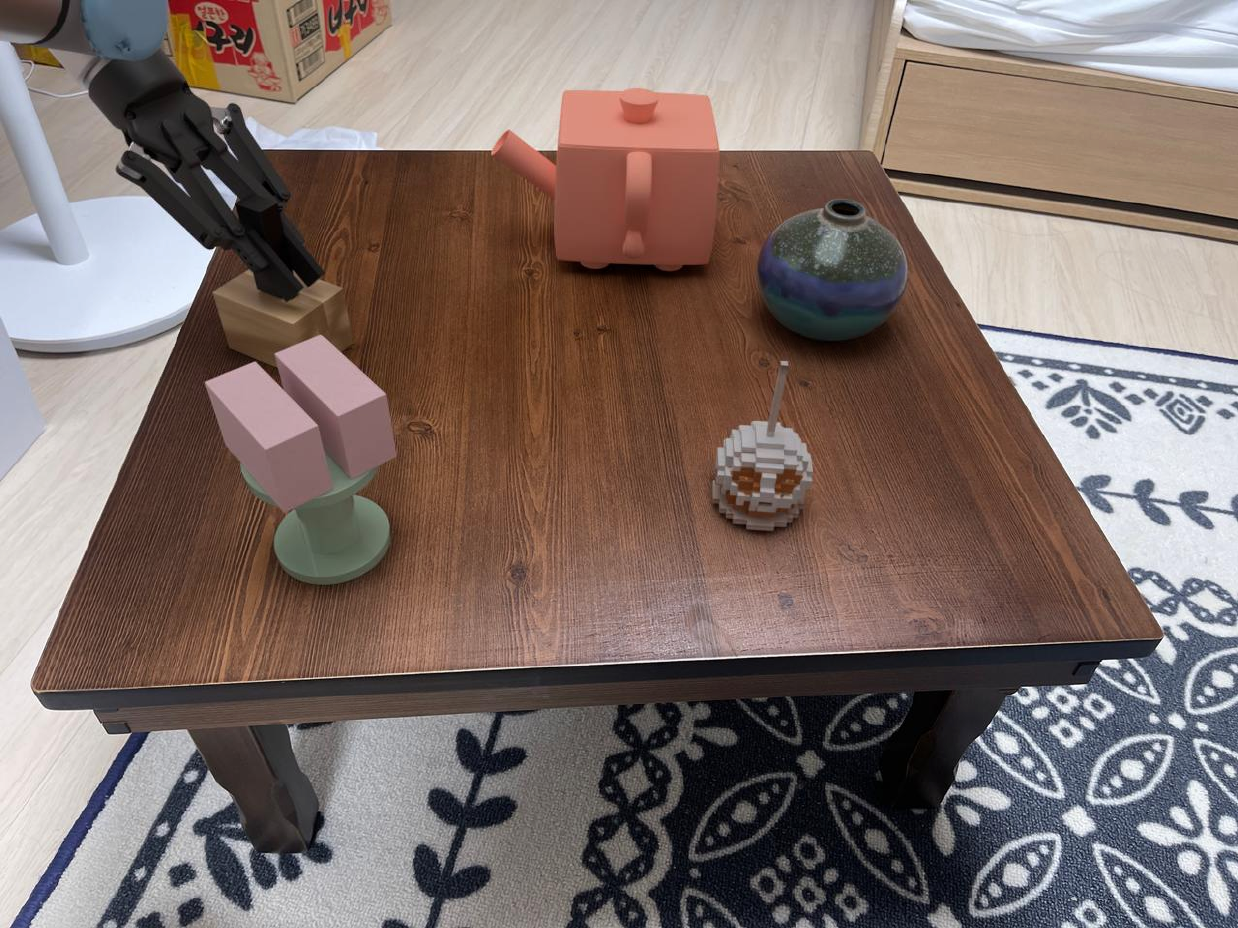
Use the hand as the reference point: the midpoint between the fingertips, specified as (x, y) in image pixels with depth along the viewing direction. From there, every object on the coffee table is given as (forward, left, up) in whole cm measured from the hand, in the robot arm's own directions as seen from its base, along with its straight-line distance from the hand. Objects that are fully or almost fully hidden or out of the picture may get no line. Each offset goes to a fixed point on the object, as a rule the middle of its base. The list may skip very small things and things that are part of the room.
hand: (305, 287), depth 87 cm
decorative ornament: (+19, -41, -9) cm, 46 cm away
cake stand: (-11, -22, -8) cm, 26 cm away
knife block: (-1, +4, -8) cm, 9 cm away
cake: (-11, -22, +2) cm, 25 cm away
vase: (+45, -27, -9) cm, 53 cm away
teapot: (+37, 0, -9) cm, 38 cm away
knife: (-1, +4, -8) cm, 9 cm away
